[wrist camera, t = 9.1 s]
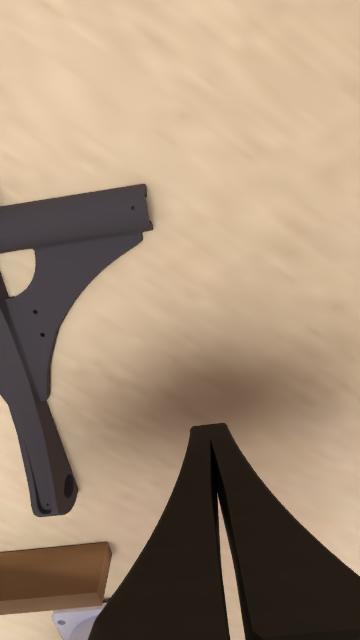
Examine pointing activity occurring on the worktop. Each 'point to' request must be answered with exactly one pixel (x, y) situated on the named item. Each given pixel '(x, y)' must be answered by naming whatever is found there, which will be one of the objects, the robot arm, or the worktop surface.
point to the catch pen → (53, 578)
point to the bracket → (55, 315)
